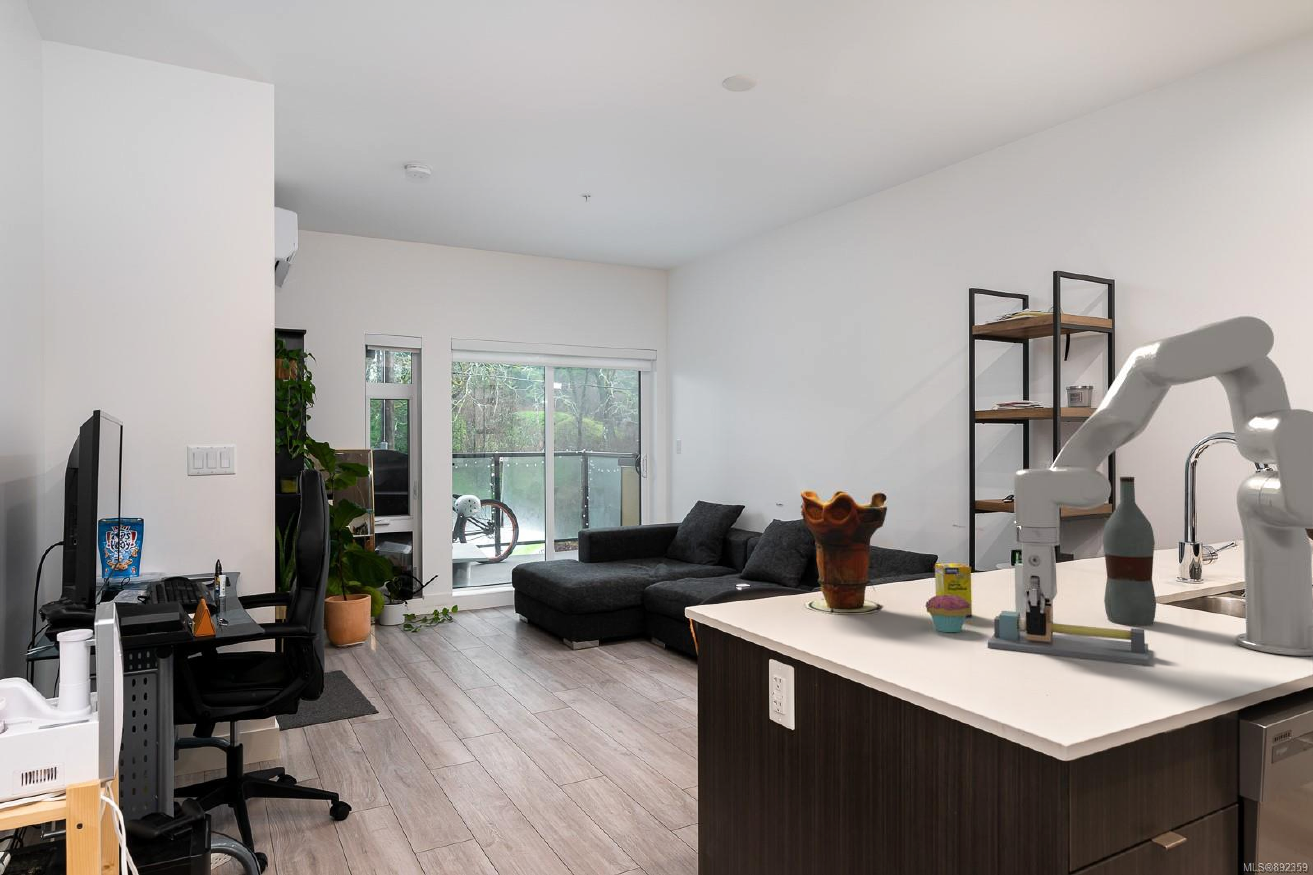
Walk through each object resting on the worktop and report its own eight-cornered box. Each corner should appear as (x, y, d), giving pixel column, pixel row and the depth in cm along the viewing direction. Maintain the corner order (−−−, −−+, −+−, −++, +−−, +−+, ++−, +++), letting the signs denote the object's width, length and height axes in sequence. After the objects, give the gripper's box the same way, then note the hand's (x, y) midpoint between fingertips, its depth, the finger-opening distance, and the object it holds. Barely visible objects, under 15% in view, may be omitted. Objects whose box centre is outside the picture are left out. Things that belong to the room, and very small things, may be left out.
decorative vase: (903, 599, 188) (898, 482, 187) (875, 623, 168) (869, 493, 167) (820, 592, 199) (815, 482, 198) (784, 614, 179) (779, 492, 178)
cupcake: (923, 632, 156) (921, 572, 156) (929, 623, 164) (928, 566, 164) (969, 636, 152) (968, 574, 152) (974, 627, 160) (972, 568, 160)
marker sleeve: (1053, 636, 146) (1052, 606, 146) (1050, 641, 142) (1049, 610, 142) (1029, 634, 148) (1028, 604, 148) (1026, 639, 144) (1025, 608, 144)
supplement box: (972, 617, 169) (971, 566, 169) (944, 618, 169) (943, 567, 169) (962, 612, 175) (961, 562, 175) (935, 612, 175) (934, 563, 175)
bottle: (1142, 616, 167) (1139, 475, 167) (1166, 626, 158) (1162, 477, 158) (1096, 616, 168) (1093, 476, 168) (1117, 626, 159) (1113, 478, 159)
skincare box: (1027, 625, 161) (1025, 566, 161) (1014, 621, 165) (1012, 563, 165) (1054, 624, 161) (1053, 565, 162) (1041, 619, 166) (1040, 562, 166)
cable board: (1148, 649, 141) (1147, 619, 141) (1148, 665, 131) (1147, 633, 131) (998, 633, 154) (997, 606, 154) (987, 647, 144) (987, 618, 144)
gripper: (1055, 542, 136) (1057, 642, 135) (1063, 532, 150) (1066, 622, 150) (1008, 540, 140) (1010, 637, 139) (1021, 530, 154) (1023, 618, 154)
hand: (1039, 629), depth 145 cm, fingers open, 9 cm apart
